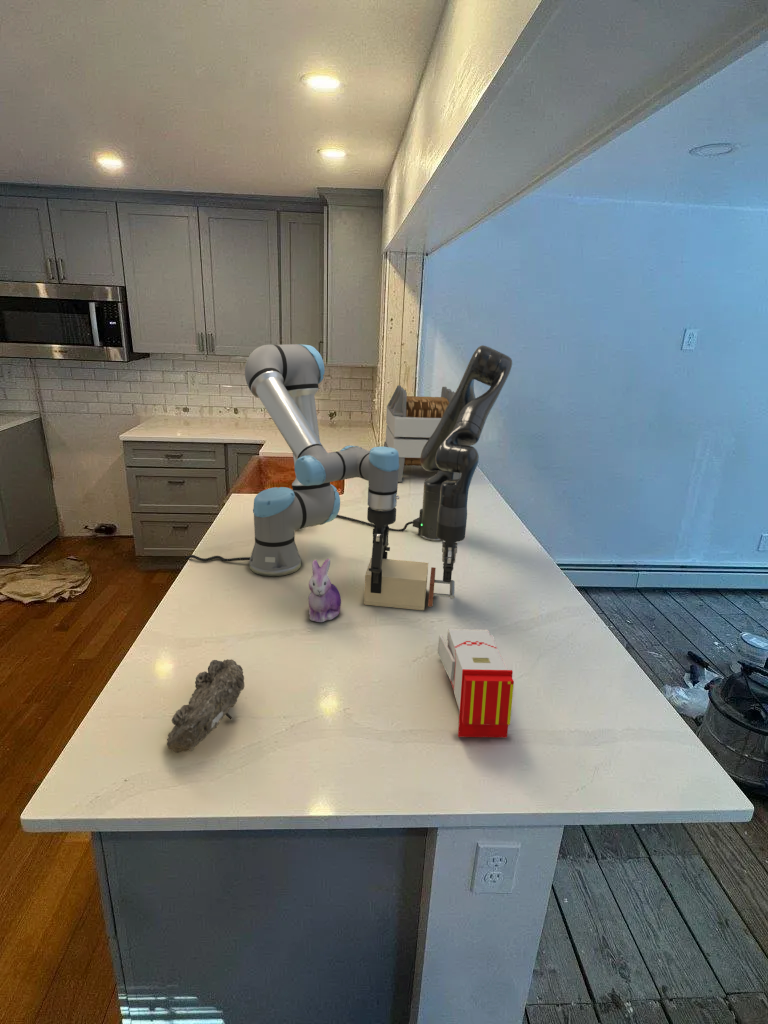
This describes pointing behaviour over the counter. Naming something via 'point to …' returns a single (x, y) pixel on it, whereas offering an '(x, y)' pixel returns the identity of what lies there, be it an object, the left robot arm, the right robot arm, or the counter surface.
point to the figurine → (323, 594)
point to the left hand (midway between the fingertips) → (378, 582)
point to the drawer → (431, 593)
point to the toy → (478, 682)
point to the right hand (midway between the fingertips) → (446, 580)
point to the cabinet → (399, 585)
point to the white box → (413, 424)
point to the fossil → (206, 705)
